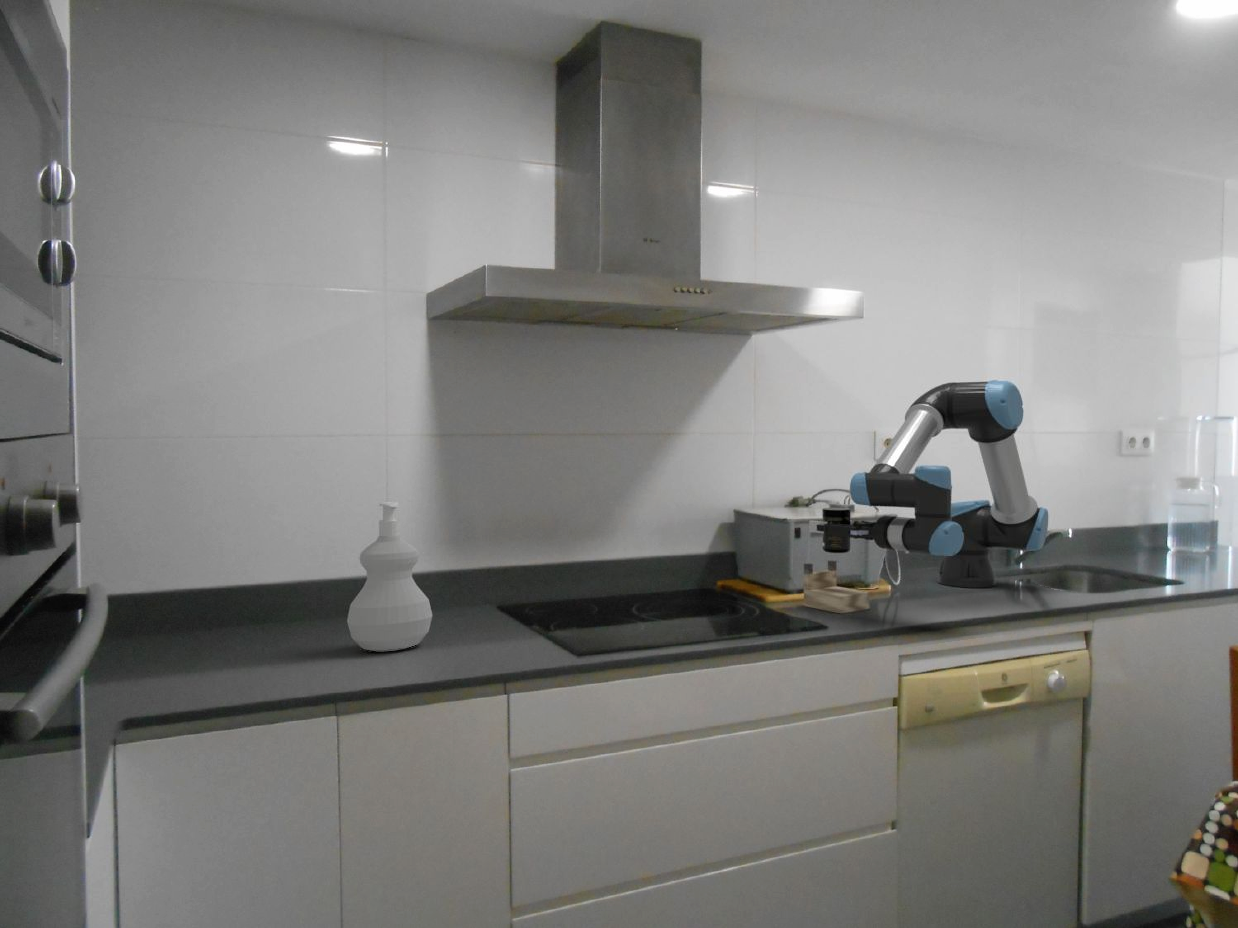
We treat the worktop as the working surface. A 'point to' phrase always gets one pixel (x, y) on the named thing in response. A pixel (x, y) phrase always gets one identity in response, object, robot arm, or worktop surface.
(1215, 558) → the worktop surface
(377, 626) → the soap bottle
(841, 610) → the holder
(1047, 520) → the robot arm
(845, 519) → the supplement container
